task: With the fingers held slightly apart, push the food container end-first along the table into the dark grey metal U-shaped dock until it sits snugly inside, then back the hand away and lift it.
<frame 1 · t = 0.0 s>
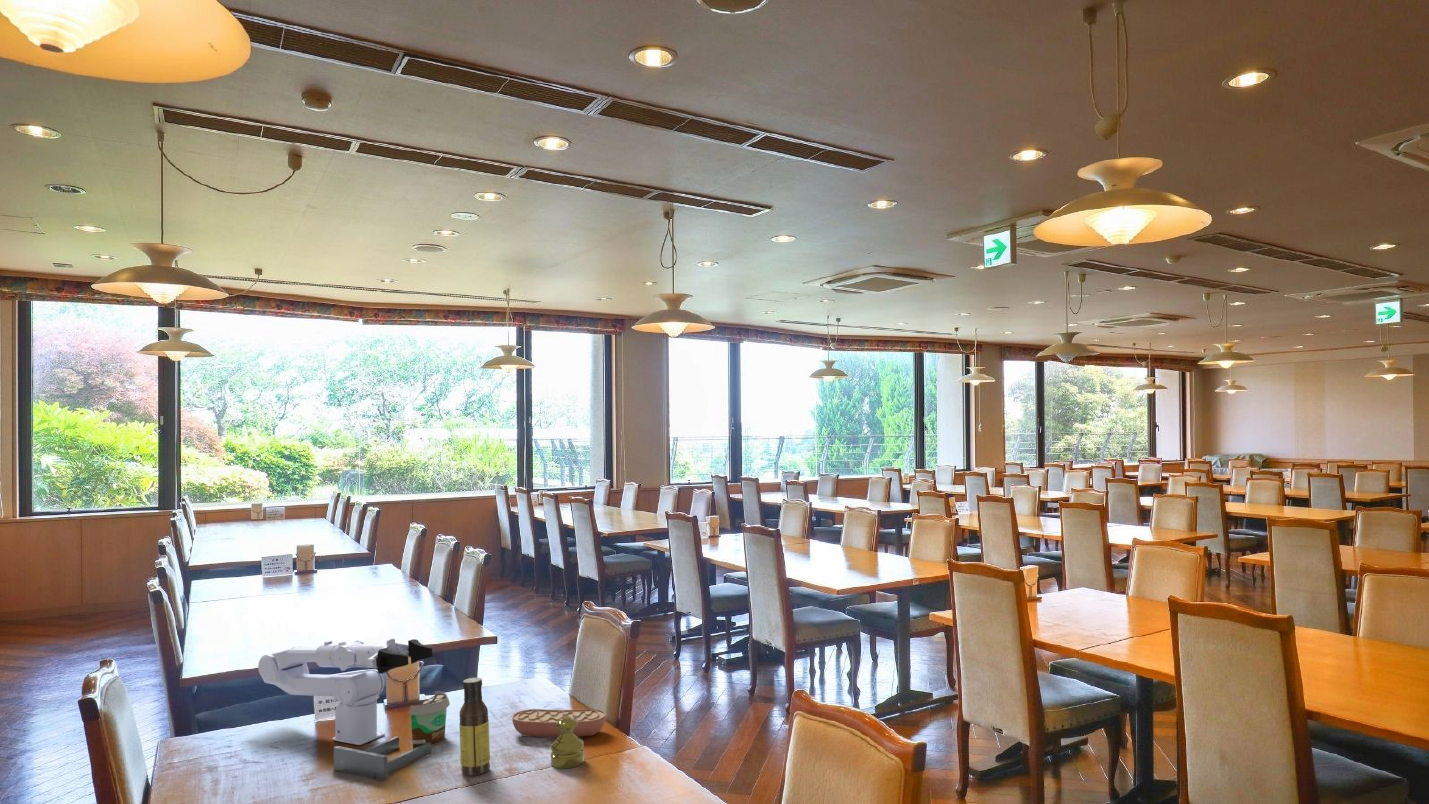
hand: (419, 656, 201), 22 cm above the table, tool horizontal, fingers open, 7 cm apart
terracotta bread basket: (558, 736, 208), on the table
sauce bottle: (474, 772, 187), on the table
dock: (388, 761, 193), on the table
olive rounded piece: (567, 763, 191), on the table
food container: (434, 741, 206), on the table
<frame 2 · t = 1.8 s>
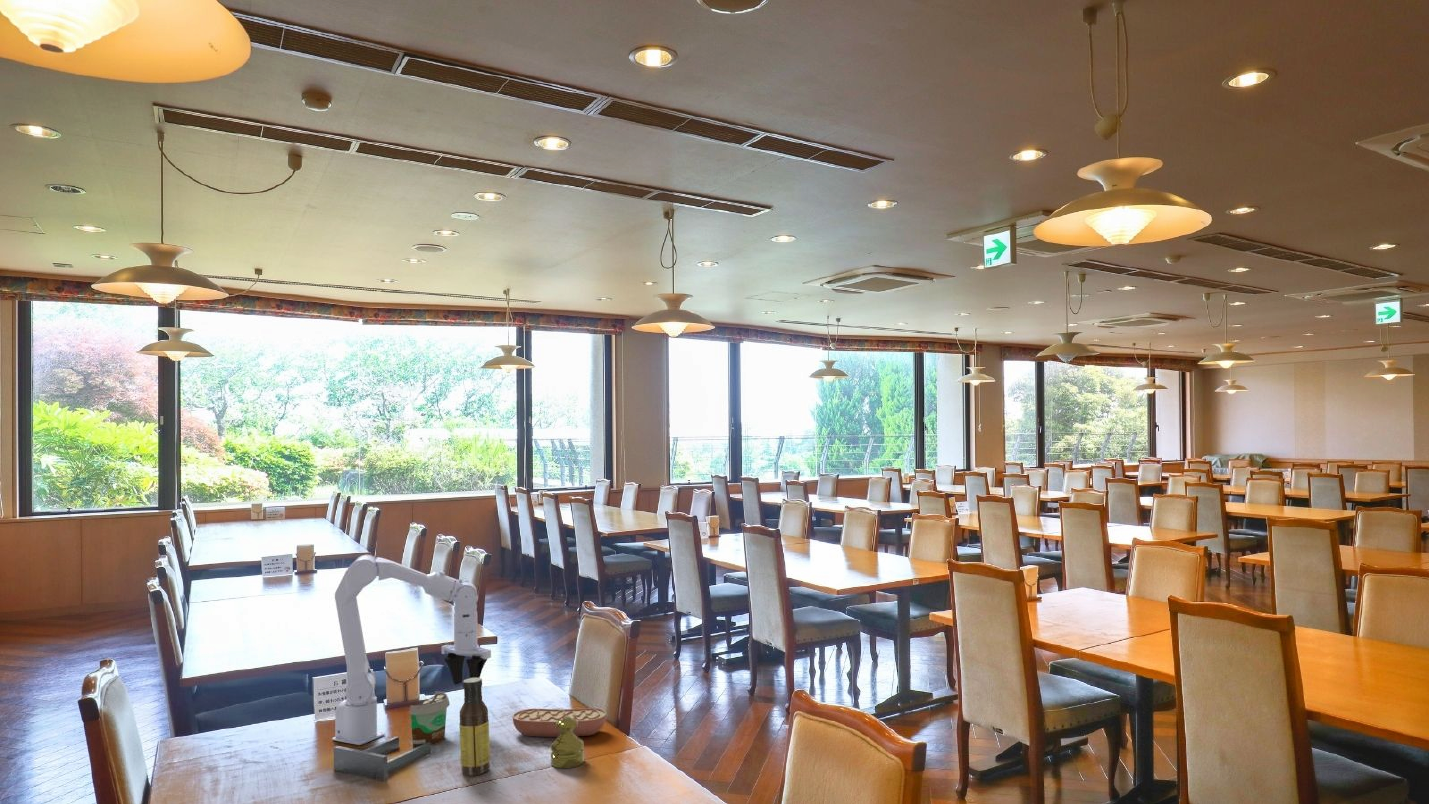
hand: (466, 684, 216), 10 cm above the table, tool pointing down, fingers open, 5 cm apart
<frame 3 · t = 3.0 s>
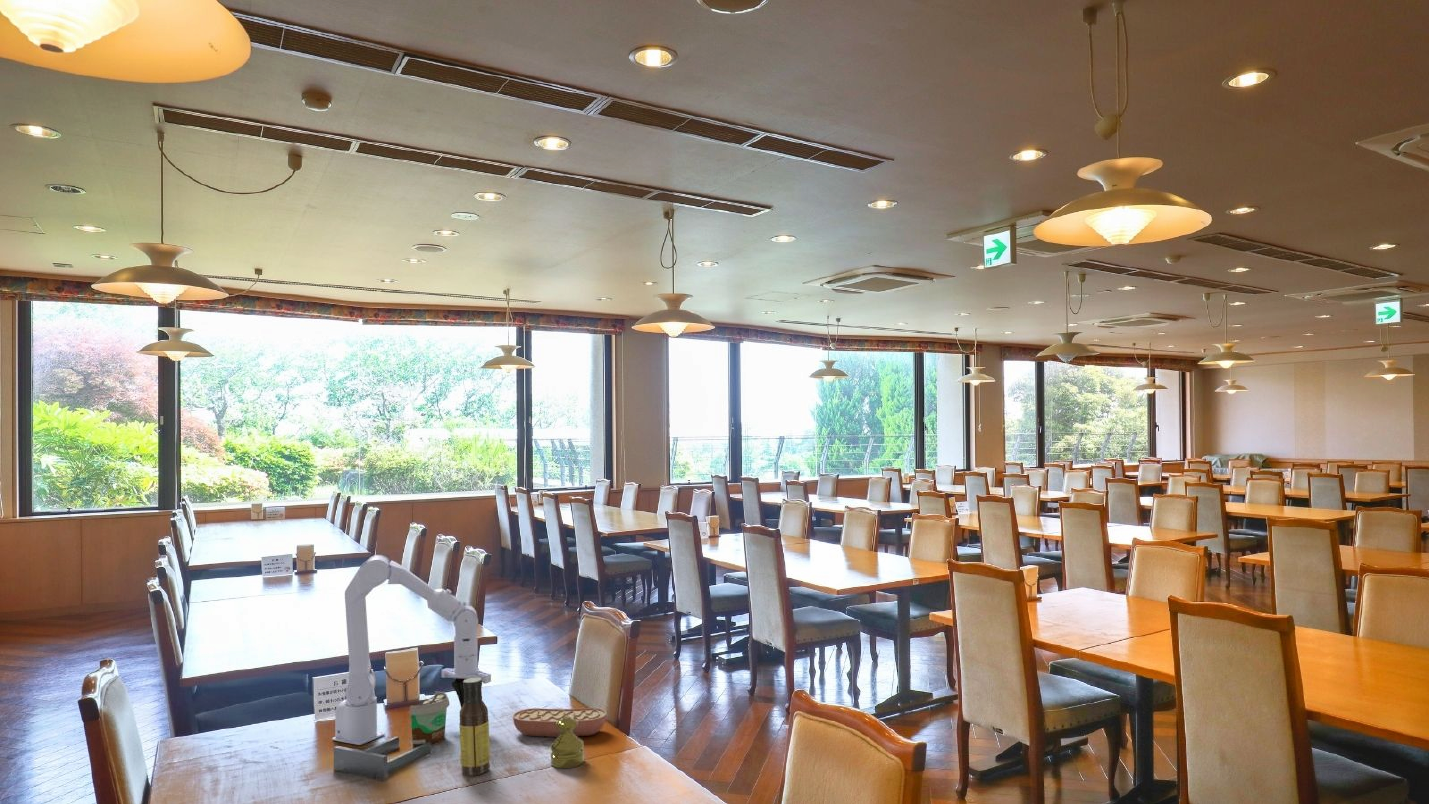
hand: (466, 708, 216), 4 cm above the table, tool pointing down, fingers closed
nothing on the table moved.
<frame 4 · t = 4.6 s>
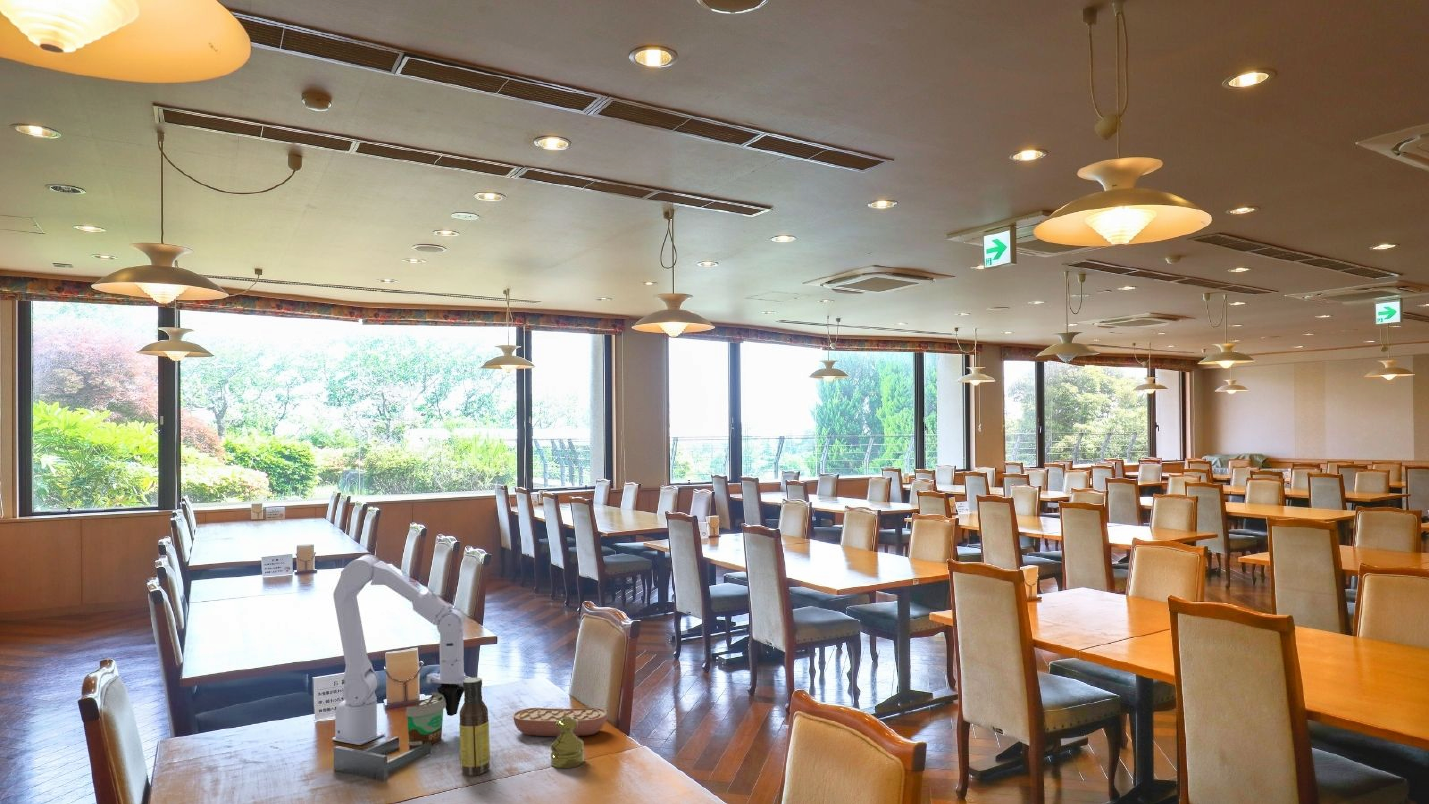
hand: (452, 714, 211), 4 cm above the table, tool pointing down, fingers closed
food container: (431, 742, 205), on the table, touching gripper
everything else where it was.
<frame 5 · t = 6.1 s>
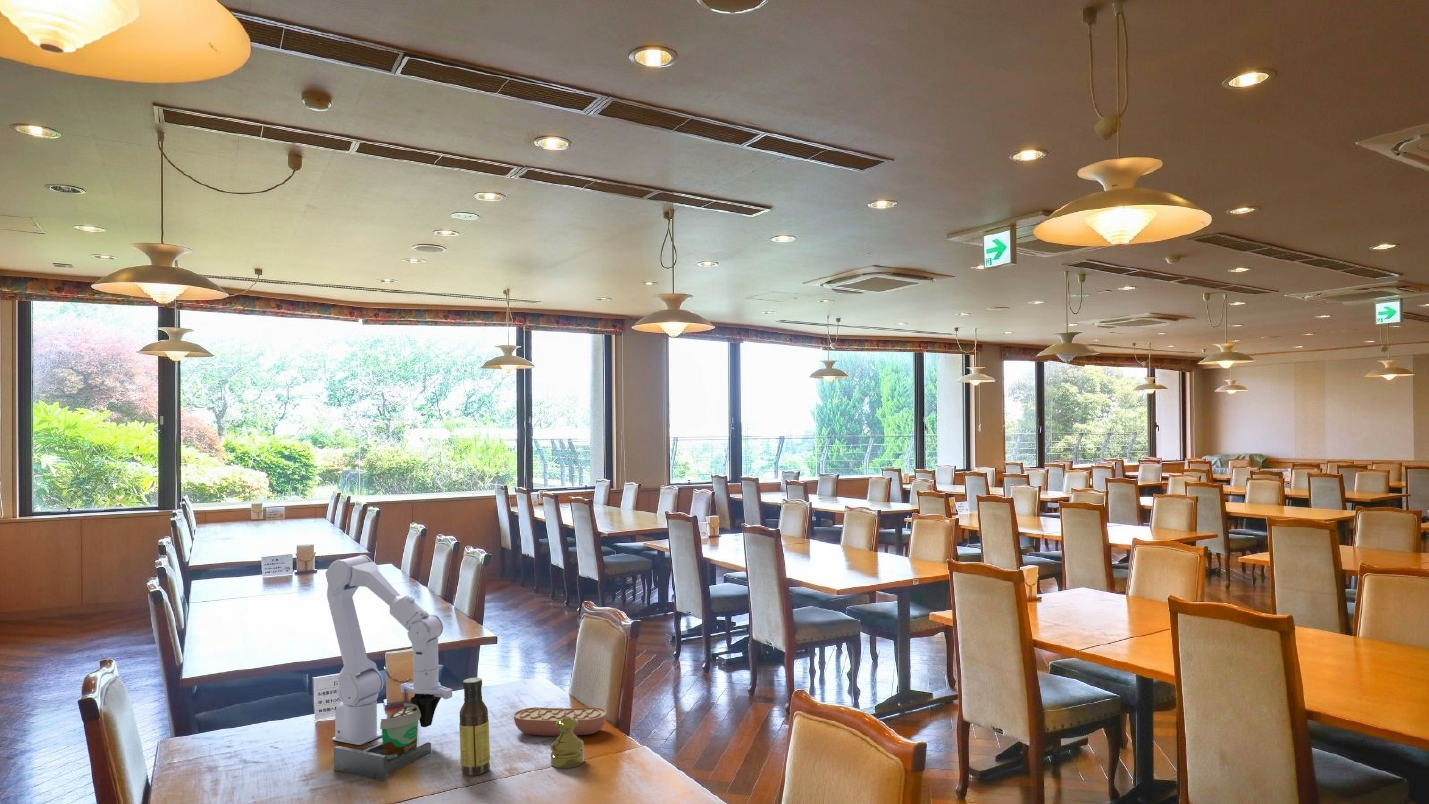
hand: (426, 725, 203), 4 cm above the table, tool pointing down, fingers closed
food container: (406, 755, 197), on the table, touching gripper
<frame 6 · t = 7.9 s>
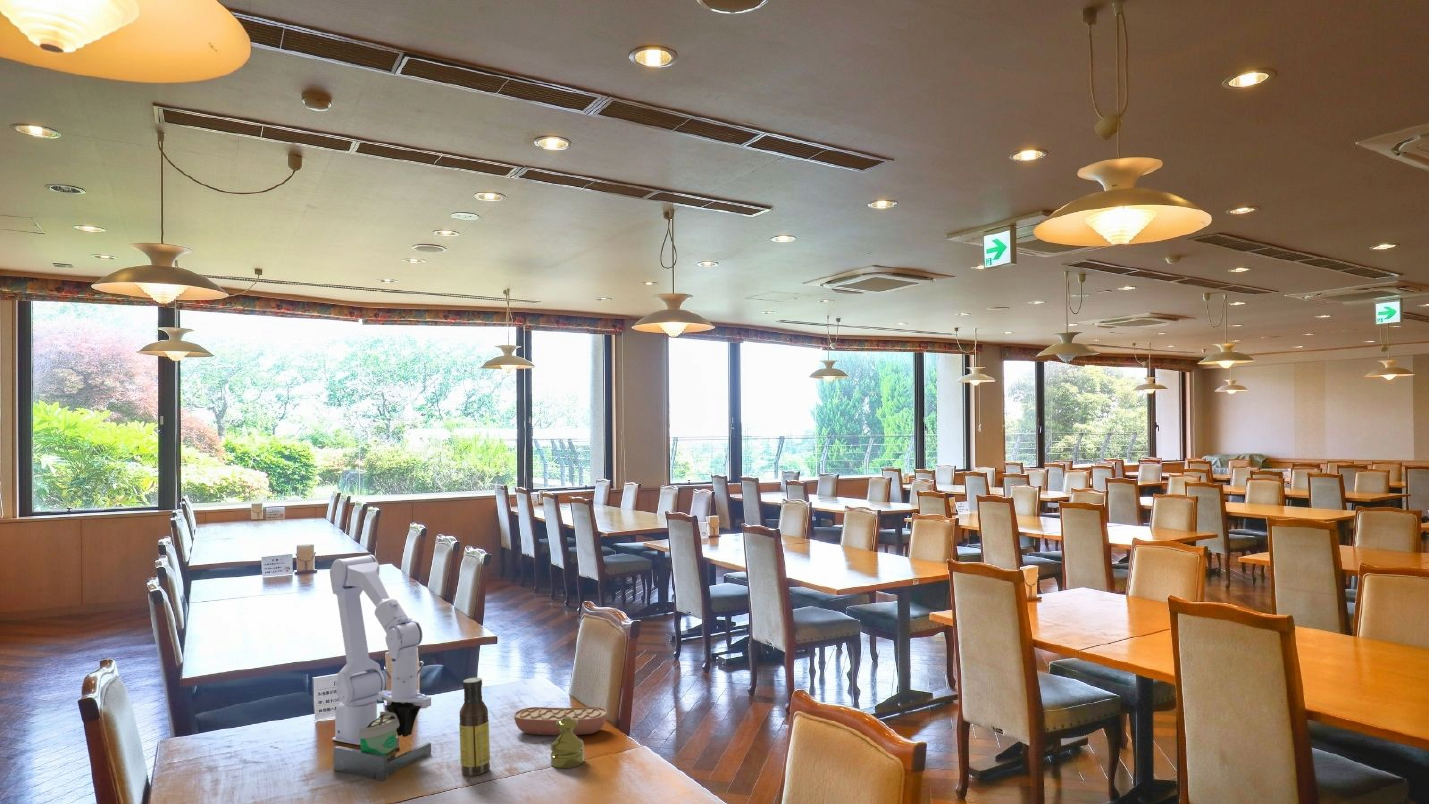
hand: (404, 734, 197), 4 cm above the table, tool pointing down, fingers closed
food container: (385, 765, 191), on the table, touching dock, gripper
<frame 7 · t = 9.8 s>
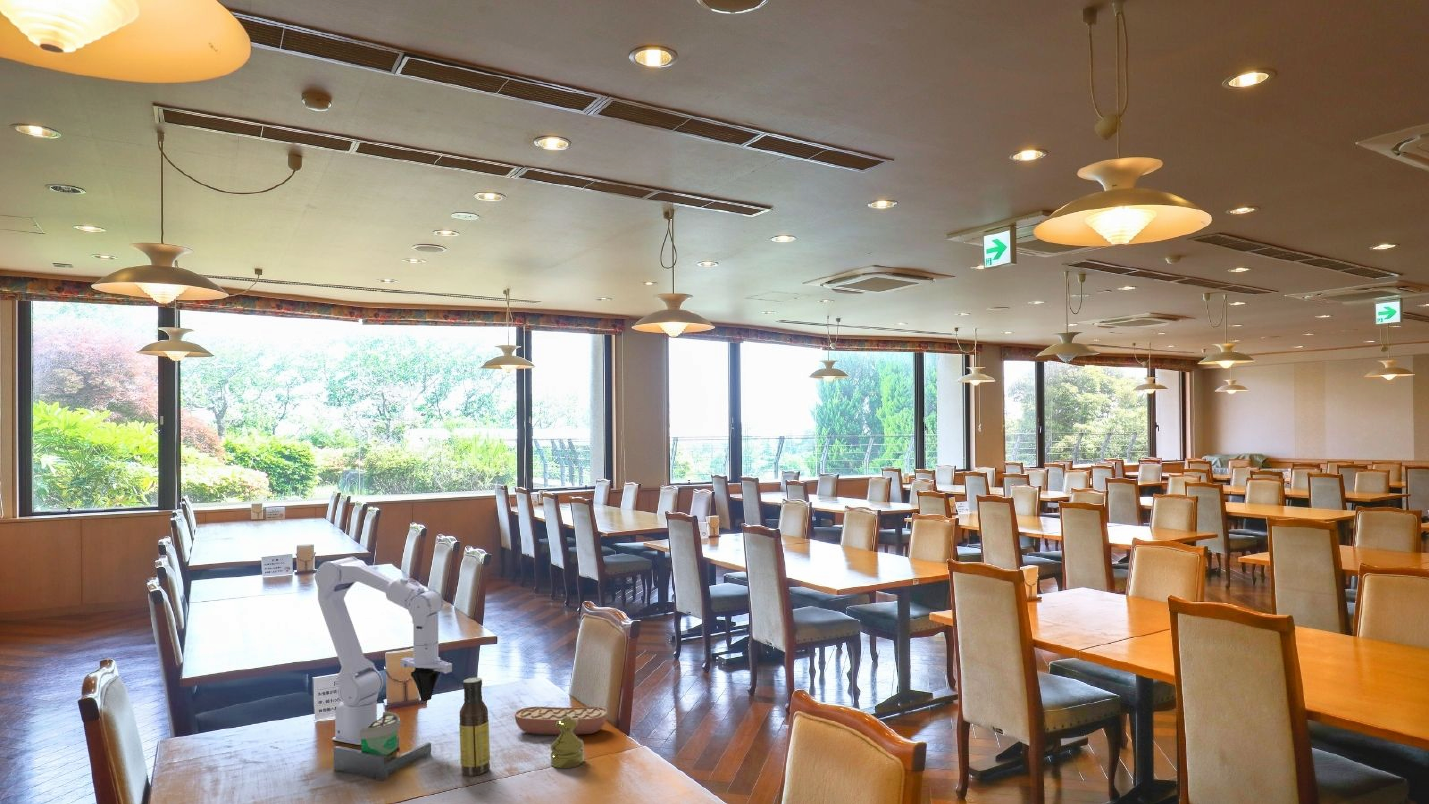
hand: (426, 700, 204), 10 cm above the table, tool pointing down, fingers closed
food container: (385, 766, 191), on the table
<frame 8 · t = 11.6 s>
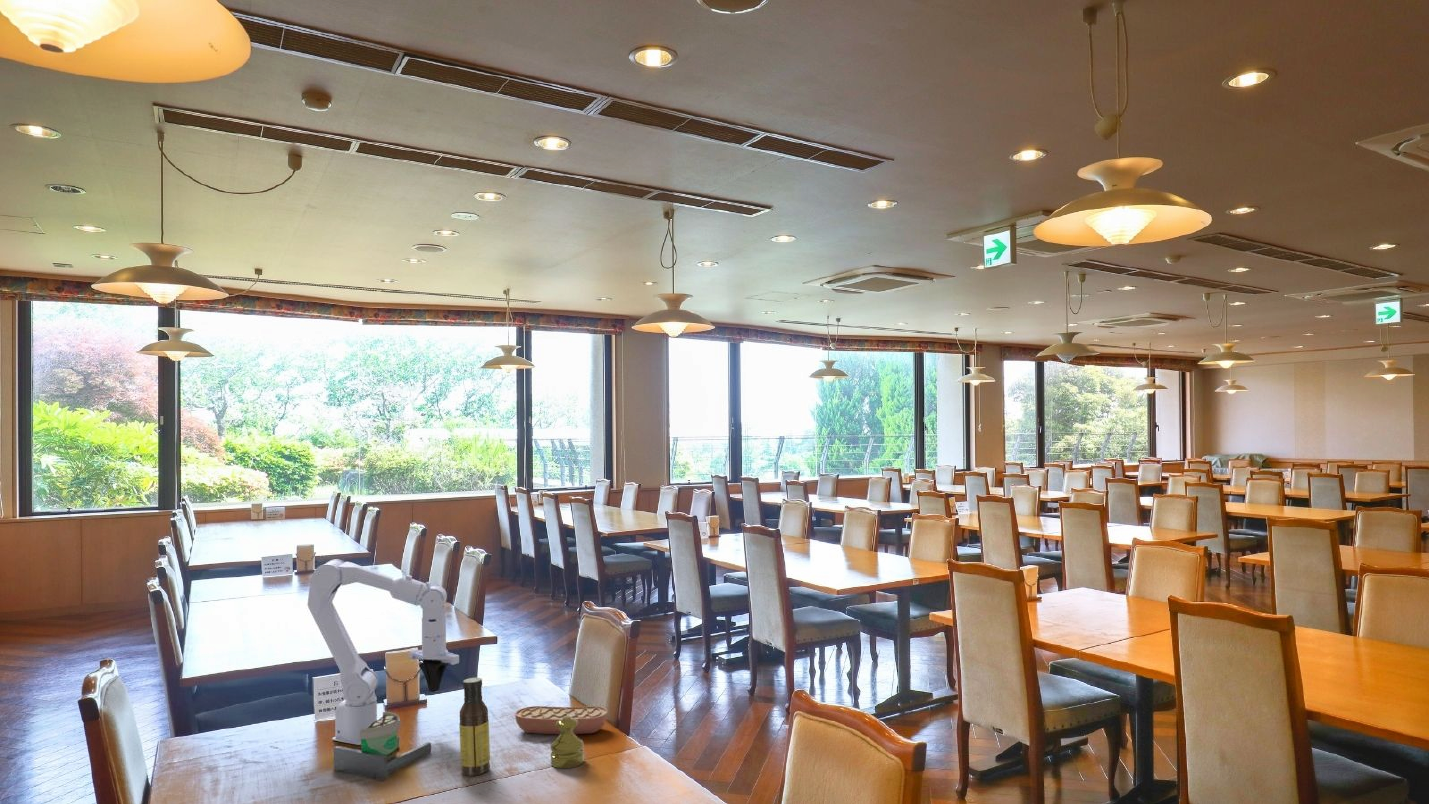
hand: (434, 690, 212), 10 cm above the table, tool pointing down, fingers closed
at the end: food container 1.3 cm off-centre on the dock, point 0.0 cm above the dock's base; food container tilted 0°; the gripper is holding nothing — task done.
